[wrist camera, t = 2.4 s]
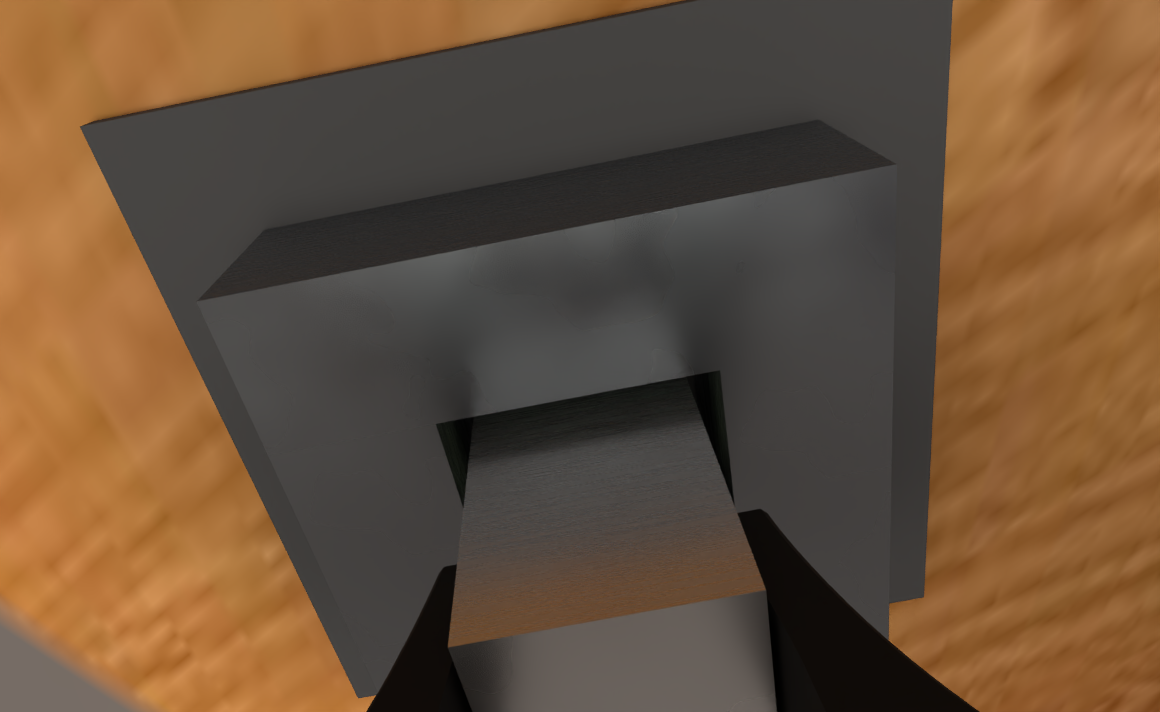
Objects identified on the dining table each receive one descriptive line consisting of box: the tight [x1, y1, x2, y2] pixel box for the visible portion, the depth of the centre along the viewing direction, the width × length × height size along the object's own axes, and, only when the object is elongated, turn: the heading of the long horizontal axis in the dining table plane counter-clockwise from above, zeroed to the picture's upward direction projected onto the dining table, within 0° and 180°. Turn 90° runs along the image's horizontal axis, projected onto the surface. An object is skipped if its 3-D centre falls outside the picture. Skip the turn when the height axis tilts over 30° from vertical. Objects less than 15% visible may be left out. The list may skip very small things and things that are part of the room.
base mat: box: [80, 0, 953, 698], centre depth 18 cm, size 16×16×1 cm
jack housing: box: [196, 120, 897, 692], centre depth 16 cm, size 11×11×4 cm
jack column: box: [448, 377, 777, 712], centre depth 14 cm, size 4×4×8 cm
